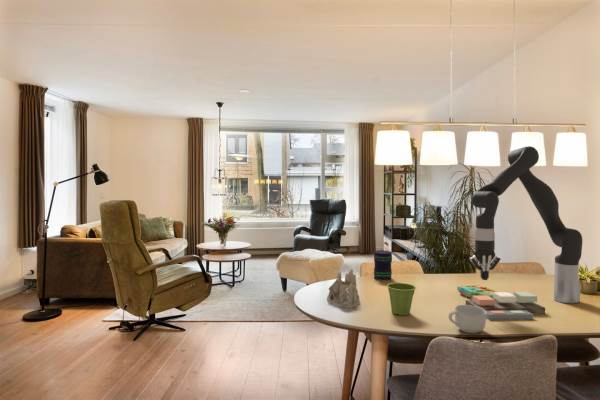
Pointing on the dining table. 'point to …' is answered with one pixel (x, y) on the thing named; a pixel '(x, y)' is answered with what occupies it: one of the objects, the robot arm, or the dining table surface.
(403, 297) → the plant pot
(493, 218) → the robot arm
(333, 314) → the dining table surface
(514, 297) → the key cream
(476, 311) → the teacup
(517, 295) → the key sage
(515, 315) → the card
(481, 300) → the key terracotta
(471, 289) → the puzzle game
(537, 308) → the keypad base
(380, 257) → the storage jar
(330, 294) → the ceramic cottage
